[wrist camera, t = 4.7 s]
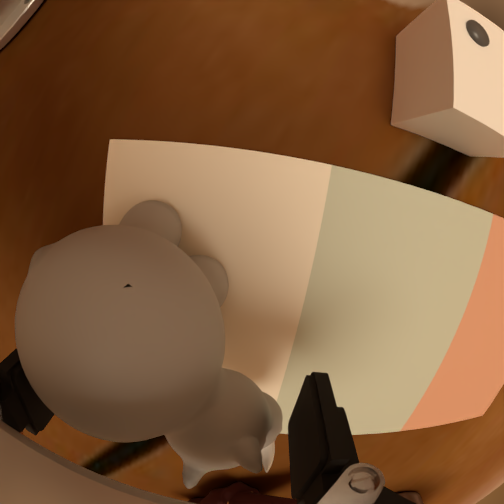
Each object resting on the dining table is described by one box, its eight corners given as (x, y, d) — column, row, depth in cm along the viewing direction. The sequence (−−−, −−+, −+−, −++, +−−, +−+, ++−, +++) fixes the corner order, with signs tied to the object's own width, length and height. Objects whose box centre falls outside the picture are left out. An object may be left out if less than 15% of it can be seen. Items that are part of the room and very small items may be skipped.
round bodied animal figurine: (219, 413, 16) (197, 535, 7) (76, 263, 13) (-41, 342, 5) (323, 361, 14) (356, 504, 6) (168, 170, 12) (21, 184, 4)
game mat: (111, 139, 12) (109, 139, 11) (558, 244, 12) (560, 244, 12) (119, 399, 16) (118, 401, 16) (481, 413, 16) (482, 415, 16)
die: (395, 36, 10) (446, -9, 5) (472, 73, 10) (532, 53, 5) (390, 125, 11) (455, 107, 6) (469, 156, 11) (539, 160, 6)
